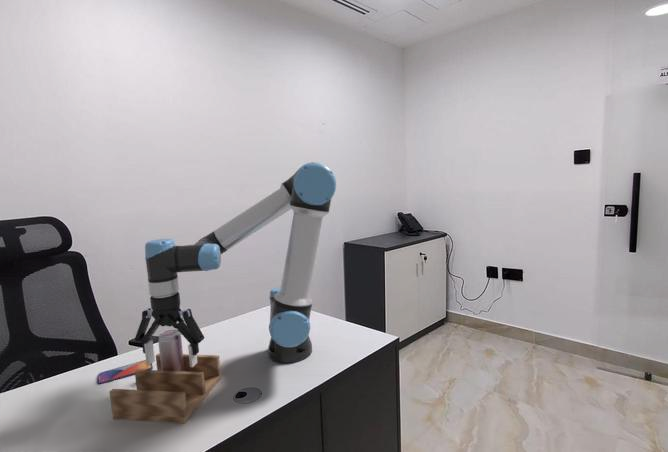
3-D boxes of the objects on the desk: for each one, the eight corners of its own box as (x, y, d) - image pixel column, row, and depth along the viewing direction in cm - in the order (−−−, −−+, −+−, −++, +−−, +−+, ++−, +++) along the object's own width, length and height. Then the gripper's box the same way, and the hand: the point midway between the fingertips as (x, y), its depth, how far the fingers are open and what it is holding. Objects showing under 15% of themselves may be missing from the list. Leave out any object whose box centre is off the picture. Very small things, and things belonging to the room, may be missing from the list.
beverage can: (162, 380, 103) (157, 332, 101) (184, 374, 106) (179, 327, 104) (163, 390, 98) (158, 340, 96) (186, 384, 101) (181, 335, 99)
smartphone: (98, 376, 111) (98, 372, 111) (151, 361, 119) (151, 358, 119) (97, 387, 105) (97, 384, 105) (153, 370, 112) (152, 367, 112)
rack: (221, 378, 106) (219, 355, 105) (185, 423, 86) (182, 395, 85) (160, 376, 108) (158, 353, 107) (112, 418, 89) (109, 391, 88)
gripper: (212, 289, 100) (218, 358, 103) (134, 289, 104) (141, 356, 107) (199, 298, 93) (205, 372, 96) (115, 297, 97) (124, 369, 99)
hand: (172, 364), depth 101 cm, fingers open, 13 cm apart
